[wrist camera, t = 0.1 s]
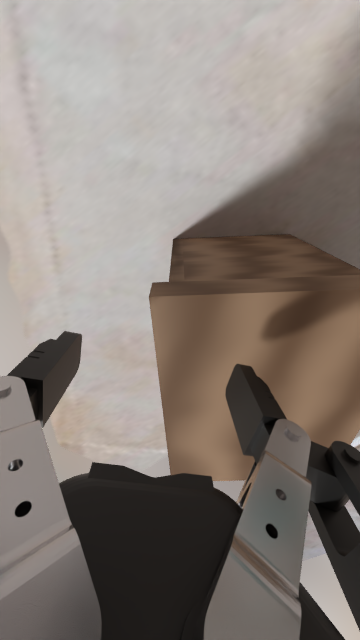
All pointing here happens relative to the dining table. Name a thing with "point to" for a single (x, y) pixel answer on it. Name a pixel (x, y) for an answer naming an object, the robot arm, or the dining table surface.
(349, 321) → the wooden step stool
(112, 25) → the dining table surface
